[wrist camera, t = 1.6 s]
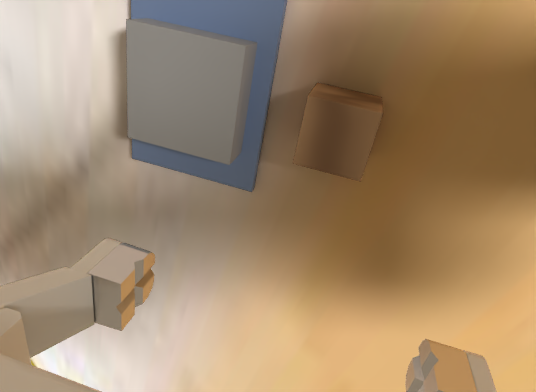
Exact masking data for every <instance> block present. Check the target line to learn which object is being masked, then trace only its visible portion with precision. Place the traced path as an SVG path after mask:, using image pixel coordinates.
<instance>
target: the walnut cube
mask: <svg viewBox="0 0 536 392" xmlns="http://www.w3.org/2000/svg"><path fill="white" fill-rule="evenodd" d="M382 116H383V105H382V97H378V96H374V95H370V94H365V93H361V92H357V91H352V90H348V89H344V88H339V87H335V86H331V85H326V84H322V83H317V84H316V85H315V87H314V88H313V89H312V91H311V92H310V93H309V95H308V97H307V102H306V106H305V111H304V115H303V119H302V124H301V128H300V133H299V137H298V142H297V146H296V150H295V155H294V159H293V164H296V165H300V166H304V167H308V168H311V169H315V170H319V171H323V172H327V173H330V174H334V175H338V176H342V177H345V178H349V179H353V180H357V181H360V182H361V179H362V176H363V173H364V170H365V167H366V164H367V161H368V158H369V155H370V152H371V149H372V146H373V143H374V140H375V137H376V134H377V131H378V128H379V125H380V122H381V119H382Z"/></svg>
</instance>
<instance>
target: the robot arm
mask: <svg viewBox="0 0 536 392" xmlns="http://www.w3.org/2000/svg"><path fill="white" fill-rule="evenodd" d="M154 263H155V254H153V253H152V252H150V251H147V250H144V249H141V248H138V247H135V246H132V245H130V244H127V243H122V242H120V241H117V240H114V239H111V238H106V239H104V240H102V241H101V242H100V243H99V244H98V245H97V246H95V247H94V248H93V249H92V250H91V251H90V252H88V253H87V254H86V255H85V256H84V257H83V258H81V259H80V260H79V261H78V262H77V263H76V264H74V265H73V266H72V267H71V268H68V267H63V268H60V269H56V270H53V271H49V272H46V273H43V274H39V275H36V276H32V277H29V278H26V279H22V280H19V281H16V282H12V283H9V284H5V285H2V286H0V392H101V391H99V390H96V389H93V388H91V387H88V386H85V385H83V384H80V383H77V382H75V381H72V380H69V379H67V378H64V377H61V376H59V375H56V374H53V373H51V372H48V371H45V370H43V369H40V368H37V367H35V366H32V365H31V360H30V358H31V357H33V356H35V355H37V354H39V353H41V352H42V351H44V350H46V349H48V348H50V347H52V346H54V345H56V344H58V343H60V342H61V341H63V340H65V339H67V338H69V337H71V336H73V335H75V334H77V333H79V332H80V331H82V330H84V329H86V328H88V327H90V326H92V325H94V322H95V323H98V324H101V325H104V326H107V327H110V328H114V329H117V330H120V331H122V330H123V328H124V327H125V326H126V325H127V323H128V322H129V321H130V320H131V318H132V317H133V316H134V313H135V307H136V306H139V305H141V304H143V303H144V301H145V300H146V299H147V297H148V295H149V293H150V291H151V289H152V286H153V282H154V273H153V272H152V270H151V267H152V266H153V265H154ZM406 392H497V391H496V388H495V385H494V382H493V379H492V376H491V373H490V370H489V368H488V365H487V362H486V359H485V358H484V357H483V356H481V355H478V354H475V353H471V352H468V351H465V350H461V349H457V348H454V347H451V346H448V345H444V344H441V343H438V342H435V341H431V340H428V339H425V340H424V341H422V343H421V344H420V346H419V356H417V357H415V358H412V360H411V362H410V364H409V366H408V370H407V374H406Z"/></svg>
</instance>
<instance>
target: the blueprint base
mask: <svg viewBox="0 0 536 392" xmlns="http://www.w3.org/2000/svg"><path fill="white" fill-rule="evenodd" d="M286 5H287V0H131V19H126V40H127V120H128V137H129V138H132V158H133V159H136V160H140V161H144V162H147V163H151V164H154V165H158V166H161V167H165V168H168V169H172V170H175V171H179V172H183V173H186V174H190V175H193V176H197V177H200V178H204V179H207V180H211V181H215V182H218V183H222V184H225V185H229V186H232V187H236V188H239V189H243V190H247V191H250V192H252V191H253V189H254V186H255V180H256V175H257V169H258V163H259V158H260V152H261V146H262V141H263V135H264V129H265V124H266V118H267V112H268V107H269V101H270V95H271V90H272V84H273V78H274V73H275V67H276V61H277V56H278V50H279V44H280V39H281V33H282V27H283V22H284V16H285V10H286Z"/></svg>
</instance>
